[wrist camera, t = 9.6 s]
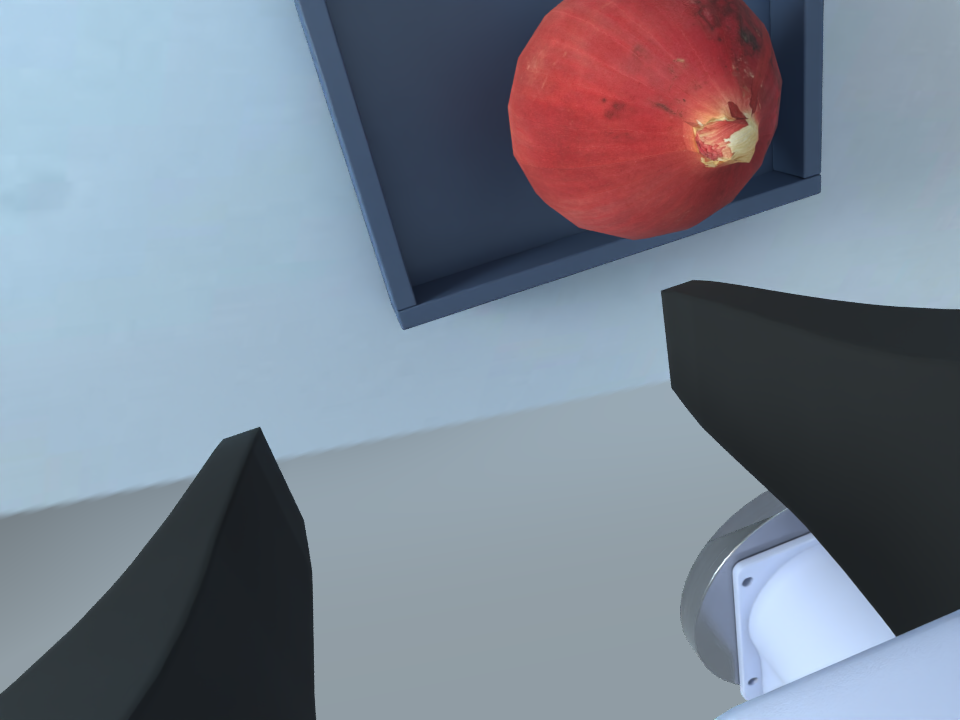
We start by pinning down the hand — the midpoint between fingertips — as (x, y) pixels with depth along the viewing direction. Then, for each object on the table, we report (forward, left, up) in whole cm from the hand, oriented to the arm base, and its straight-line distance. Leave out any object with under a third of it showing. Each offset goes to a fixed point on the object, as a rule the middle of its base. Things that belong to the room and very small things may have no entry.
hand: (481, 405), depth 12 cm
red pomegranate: (+3, -6, -9) cm, 11 cm away
